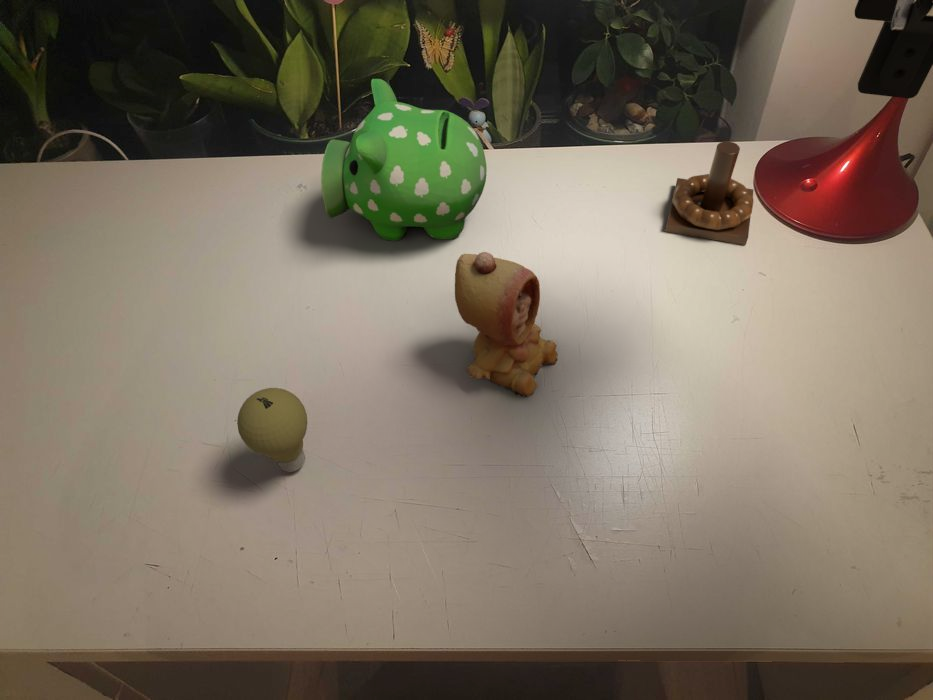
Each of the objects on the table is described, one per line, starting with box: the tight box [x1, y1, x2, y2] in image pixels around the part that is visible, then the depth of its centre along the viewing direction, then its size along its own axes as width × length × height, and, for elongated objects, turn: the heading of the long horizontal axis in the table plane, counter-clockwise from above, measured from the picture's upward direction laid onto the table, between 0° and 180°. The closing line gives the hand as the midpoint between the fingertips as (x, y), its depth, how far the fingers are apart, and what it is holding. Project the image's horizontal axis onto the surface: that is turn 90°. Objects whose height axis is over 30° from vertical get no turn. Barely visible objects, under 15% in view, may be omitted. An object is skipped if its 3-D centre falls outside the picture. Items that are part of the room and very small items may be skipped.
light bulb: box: [236, 387, 308, 473], centre depth 57 cm, size 6×6×10 cm
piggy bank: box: [320, 78, 487, 242], centre depth 75 cm, size 14×18×15 cm
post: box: [665, 140, 754, 246], centre depth 75 cm, size 9×9×9 cm
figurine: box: [454, 251, 558, 398], centre depth 62 cm, size 10×8×15 cm
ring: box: [672, 173, 754, 230], centre depth 77 cm, size 9×9×2 cm
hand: (881, 53), depth 42 cm, fingers open, 9 cm apart
